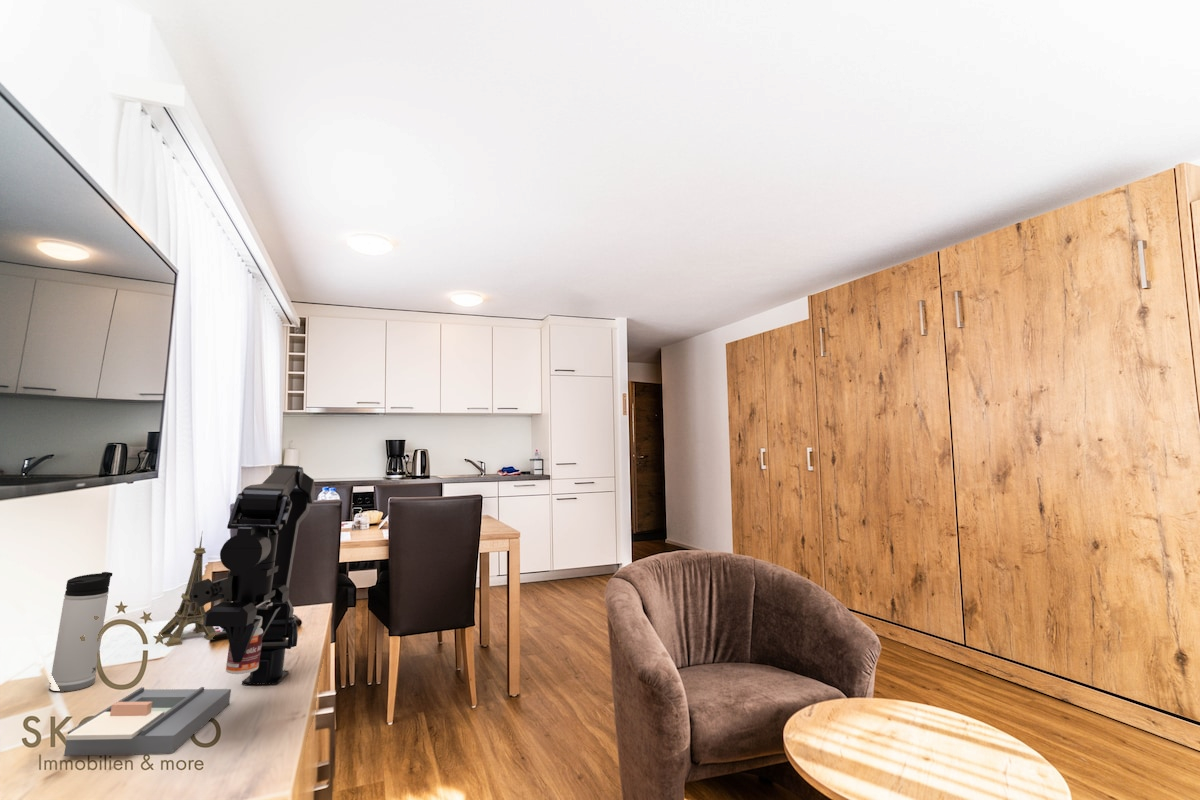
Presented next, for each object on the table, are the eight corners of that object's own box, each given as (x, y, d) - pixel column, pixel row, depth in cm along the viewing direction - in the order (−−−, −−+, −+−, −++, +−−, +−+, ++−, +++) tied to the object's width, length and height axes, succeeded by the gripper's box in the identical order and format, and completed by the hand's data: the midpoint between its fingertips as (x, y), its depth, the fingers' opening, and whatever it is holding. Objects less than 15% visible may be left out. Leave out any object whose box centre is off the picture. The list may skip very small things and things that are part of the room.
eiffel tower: (167, 647, 130) (183, 534, 133) (154, 636, 136) (169, 529, 139) (220, 638, 138) (234, 532, 141) (205, 628, 144) (219, 527, 147)
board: (141, 704, 100) (144, 685, 100) (229, 703, 102) (231, 684, 102) (64, 755, 82) (67, 732, 83) (171, 753, 84) (174, 730, 85)
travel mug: (104, 682, 108) (121, 573, 111) (62, 694, 102) (81, 579, 104) (83, 677, 110) (100, 570, 113) (40, 688, 104) (59, 575, 106)
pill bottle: (243, 676, 93) (249, 622, 94) (218, 672, 94) (225, 619, 95) (265, 667, 98) (271, 616, 99) (241, 663, 99) (248, 613, 100)
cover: (104, 715, 89) (106, 700, 89) (163, 715, 90) (165, 700, 90) (65, 740, 81) (67, 723, 81) (131, 738, 82) (133, 722, 83)
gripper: (230, 552, 106) (218, 640, 104) (173, 569, 88) (157, 677, 86) (294, 553, 108) (284, 640, 106) (251, 571, 89) (238, 676, 87)
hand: (244, 656), depth 96 cm, fingers closed on pill bottle, 5 cm apart
